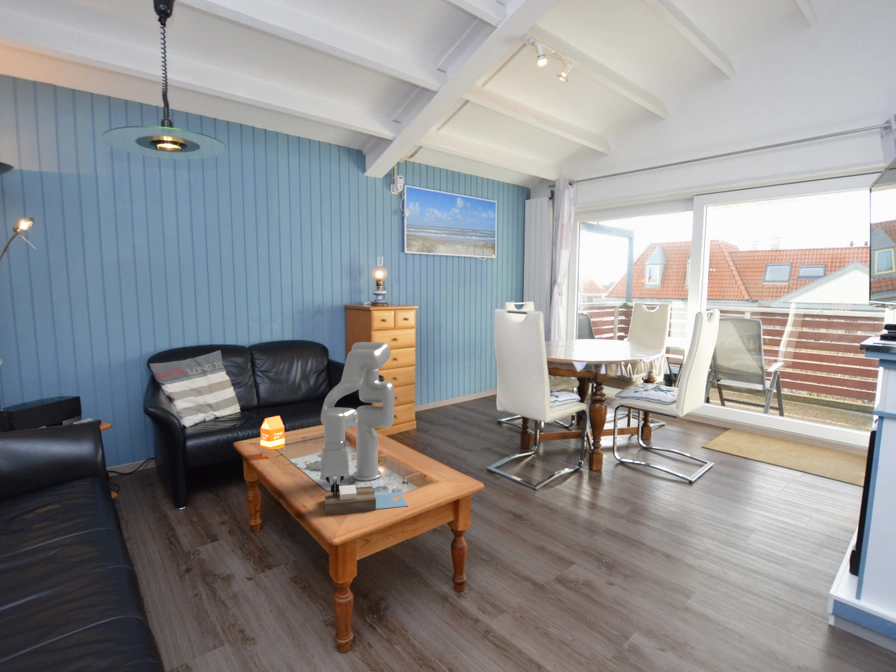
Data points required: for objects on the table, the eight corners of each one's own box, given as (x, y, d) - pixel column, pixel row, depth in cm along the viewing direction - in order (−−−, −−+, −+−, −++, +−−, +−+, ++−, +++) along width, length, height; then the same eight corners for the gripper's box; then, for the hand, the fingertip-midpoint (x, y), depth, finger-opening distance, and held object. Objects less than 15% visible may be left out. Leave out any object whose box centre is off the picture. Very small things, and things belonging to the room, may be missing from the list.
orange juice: (284, 454, 237) (284, 416, 236) (270, 458, 229) (269, 419, 228) (275, 452, 241) (274, 414, 240) (260, 456, 233) (260, 417, 233)
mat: (372, 495, 181) (372, 494, 181) (402, 492, 184) (402, 492, 184) (375, 509, 167) (375, 508, 167) (407, 506, 170) (407, 505, 170)
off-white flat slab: (339, 491, 175) (339, 486, 175) (355, 489, 176) (355, 484, 176) (339, 500, 166) (339, 494, 166) (356, 498, 167) (356, 493, 167)
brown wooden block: (325, 500, 176) (325, 490, 176) (372, 496, 180) (372, 486, 180) (325, 515, 162) (324, 504, 162) (375, 510, 167) (375, 499, 167)
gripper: (354, 441, 175) (354, 488, 175) (314, 443, 171) (314, 492, 172) (355, 446, 168) (355, 496, 168) (313, 449, 164) (313, 499, 164)
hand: (334, 493), depth 170 cm, fingers closed
